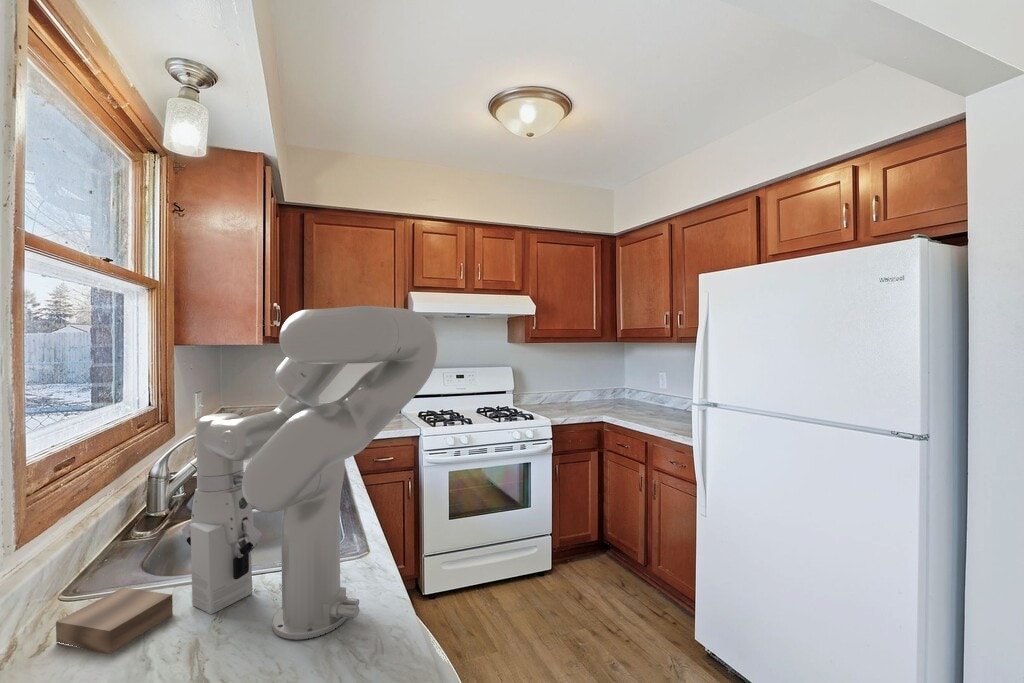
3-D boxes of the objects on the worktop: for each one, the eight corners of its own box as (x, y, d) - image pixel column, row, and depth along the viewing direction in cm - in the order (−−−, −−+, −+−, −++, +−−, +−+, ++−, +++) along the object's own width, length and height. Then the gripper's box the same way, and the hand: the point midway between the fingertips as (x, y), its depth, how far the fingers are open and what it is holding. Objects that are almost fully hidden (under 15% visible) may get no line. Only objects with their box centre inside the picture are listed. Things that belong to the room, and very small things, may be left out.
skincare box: (234, 586, 98) (233, 508, 98) (254, 594, 95) (253, 514, 94) (189, 606, 91) (188, 522, 90) (210, 616, 88) (208, 529, 87)
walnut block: (172, 616, 88) (172, 594, 88) (110, 656, 78) (109, 631, 78) (123, 608, 91) (123, 587, 91) (56, 645, 80) (56, 621, 80)
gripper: (275, 477, 94) (276, 568, 95) (197, 472, 98) (198, 560, 98) (246, 490, 87) (248, 588, 87) (163, 483, 90) (165, 578, 91)
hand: (222, 573), depth 93 cm, fingers closed on skincare box, 7 cm apart
